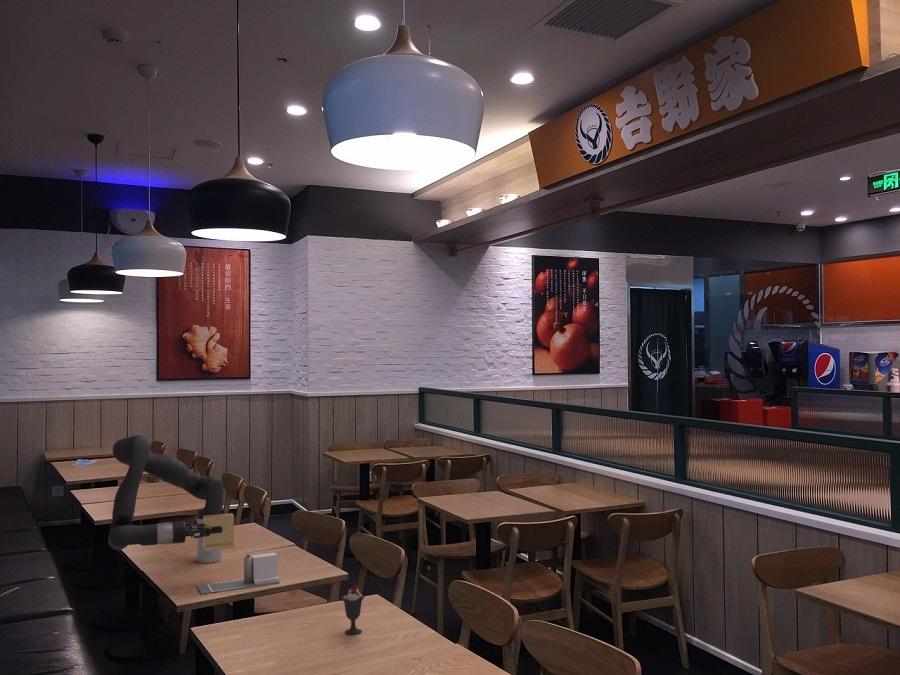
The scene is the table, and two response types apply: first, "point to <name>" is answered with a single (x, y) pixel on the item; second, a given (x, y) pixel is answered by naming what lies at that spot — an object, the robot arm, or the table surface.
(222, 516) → the brass leaf
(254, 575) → the hinge board
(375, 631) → the table surface
